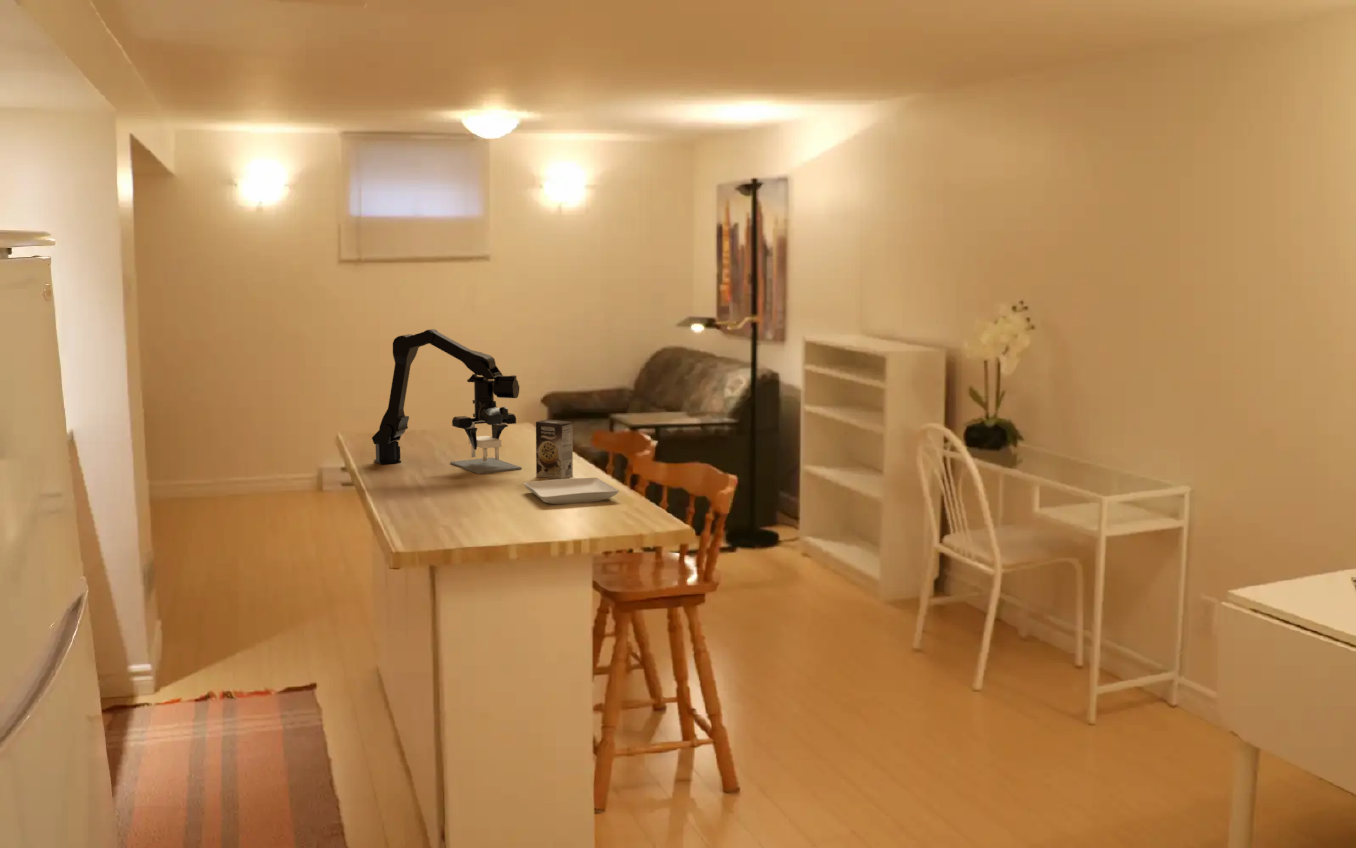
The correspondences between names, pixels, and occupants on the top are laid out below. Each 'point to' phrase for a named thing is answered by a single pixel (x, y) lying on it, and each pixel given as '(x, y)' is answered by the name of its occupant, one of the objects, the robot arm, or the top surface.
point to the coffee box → (554, 449)
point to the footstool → (486, 446)
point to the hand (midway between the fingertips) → (484, 448)
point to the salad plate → (571, 490)
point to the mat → (485, 465)
